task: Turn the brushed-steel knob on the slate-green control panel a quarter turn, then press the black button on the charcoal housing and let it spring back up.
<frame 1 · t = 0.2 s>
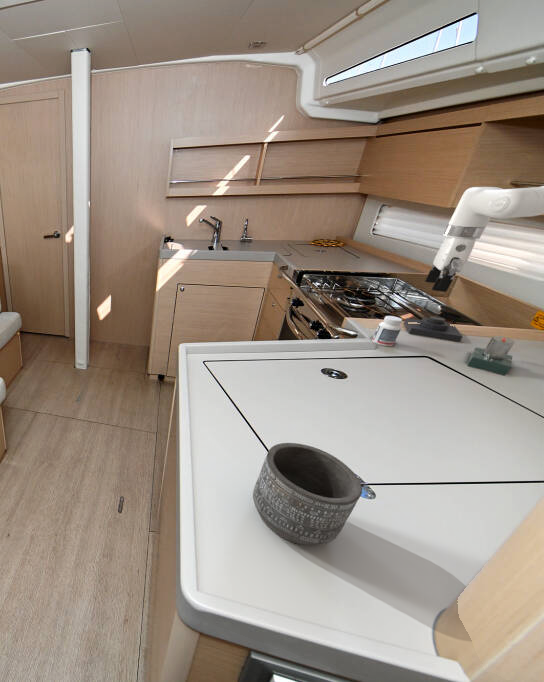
hand: (435, 286, 113), 17 cm above the countertop, tool pointing down, fingers open, 9 cm apart
housing: (429, 332, 121), on the countertop
pill bottle: (381, 343, 116), on the countertop
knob: (498, 347, 99), point 6 cm above the countertop, hinge at 0.0°
planter: (287, 523, 61), on the countertop
button: (436, 320, 119), point 4 cm above the countertop, slide at 0.1 cm
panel: (486, 365, 102), on the countertop
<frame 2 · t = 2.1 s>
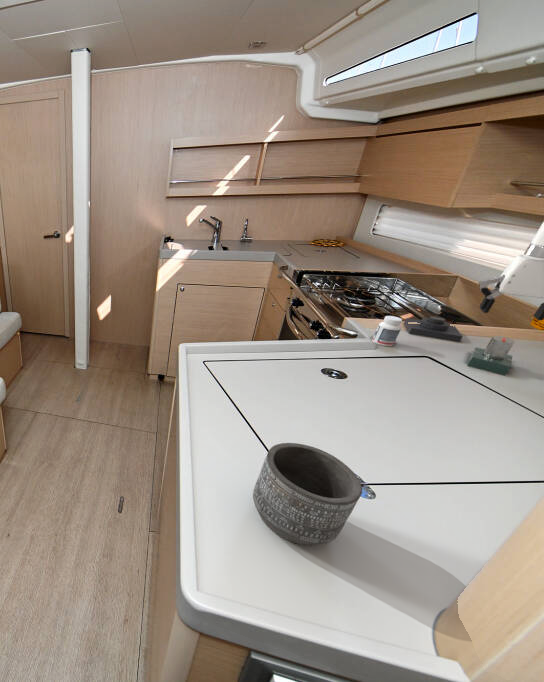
hand: (509, 314, 97), 15 cm above the countertop, tool pointing down, fingers open, 9 cm apart
nothing on the countertop moved.
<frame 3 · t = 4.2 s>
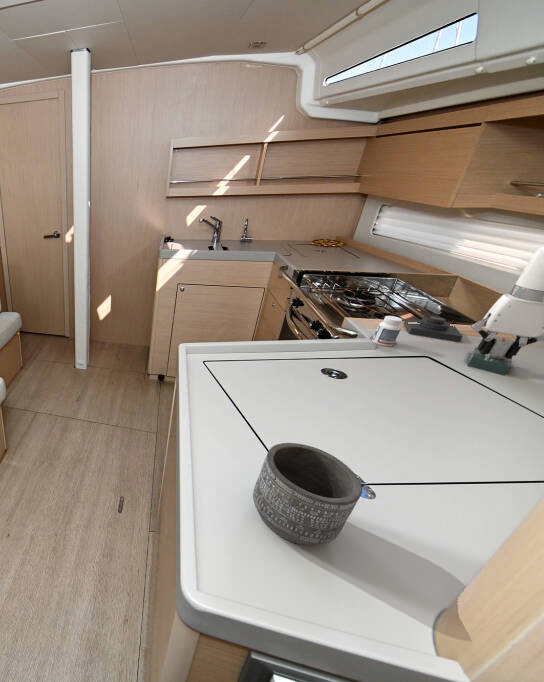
hand: (494, 353, 100), 4 cm above the countertop, tool pointing down, fingers closed on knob, 4 cm apart
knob: (498, 347, 99), point 6 cm above the countertop, hinge at 0.1°, touching gripper
everything else where it was.
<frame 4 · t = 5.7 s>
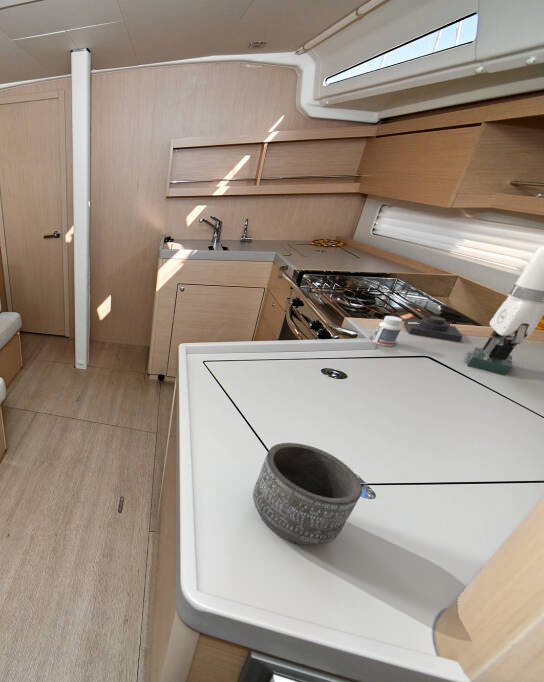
hand: (494, 353, 100), 4 cm above the countertop, tool pointing down, fingers closed on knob, 4 cm apart
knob: (498, 347, 99), point 6 cm above the countertop, hinge at 90.5°, touching gripper
everything else where it was.
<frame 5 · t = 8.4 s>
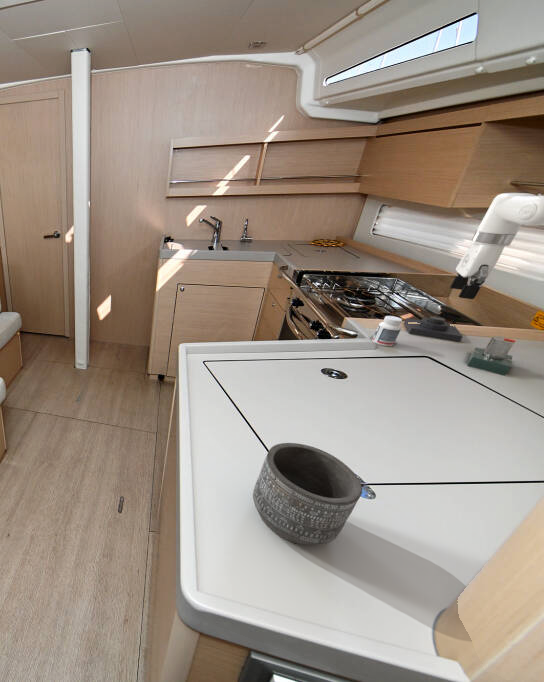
hand: (461, 293, 111), 15 cm above the countertop, tool pointing down, fingers open, 9 cm apart
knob: (498, 347, 99), point 6 cm above the countertop, hinge at 89.9°
everything else where it was.
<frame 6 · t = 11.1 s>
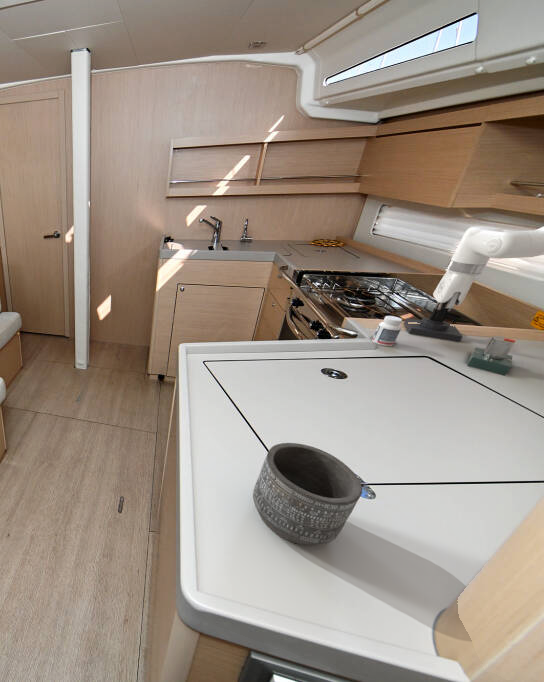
hand: (435, 320, 119), 5 cm above the countertop, tool pointing down, fingers closed
button: (435, 322, 120), point 4 cm above the countertop, slide at -0.8 cm, touching gripper
everything else where it was.
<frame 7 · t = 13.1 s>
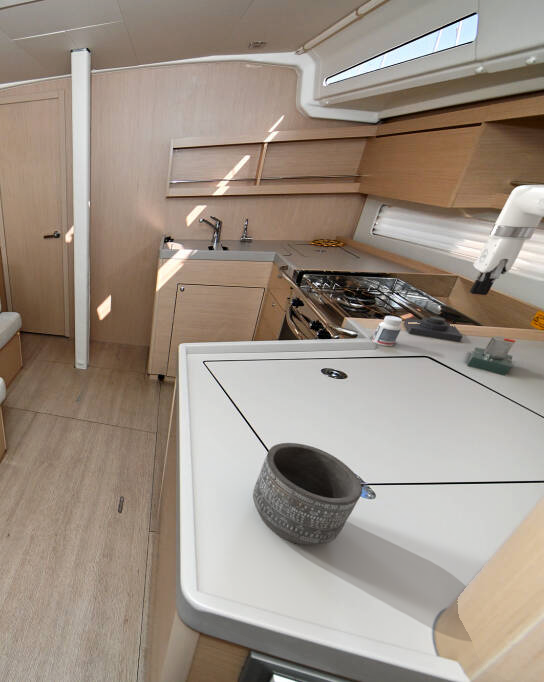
hand: (477, 293, 108), 16 cm above the countertop, tool pointing down, fingers closed
button: (436, 320, 119), point 4 cm above the countertop, slide at 0.1 cm
everything else where it was.
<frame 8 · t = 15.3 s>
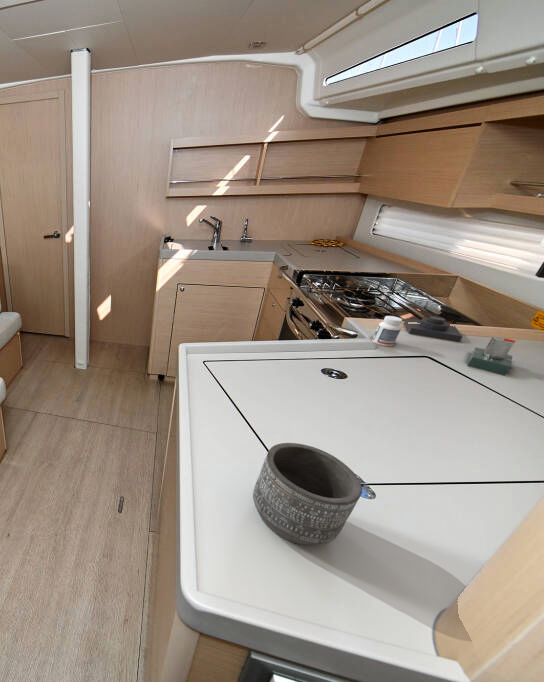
nothing on the countertop moved.
at the end: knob at +90° (first picture: +0°); button pushed in 1.0 cm at the most during the clip, back to where it started at the end; button slide at 0.1 cm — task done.
